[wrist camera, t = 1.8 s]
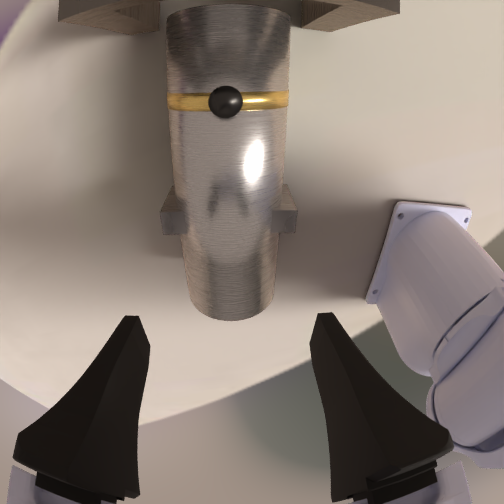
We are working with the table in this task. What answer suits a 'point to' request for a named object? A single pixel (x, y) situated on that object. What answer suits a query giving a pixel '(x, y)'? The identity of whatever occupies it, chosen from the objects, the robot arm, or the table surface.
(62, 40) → the table surface
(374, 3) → the brown bracket plates
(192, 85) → the grey metal cylinder
